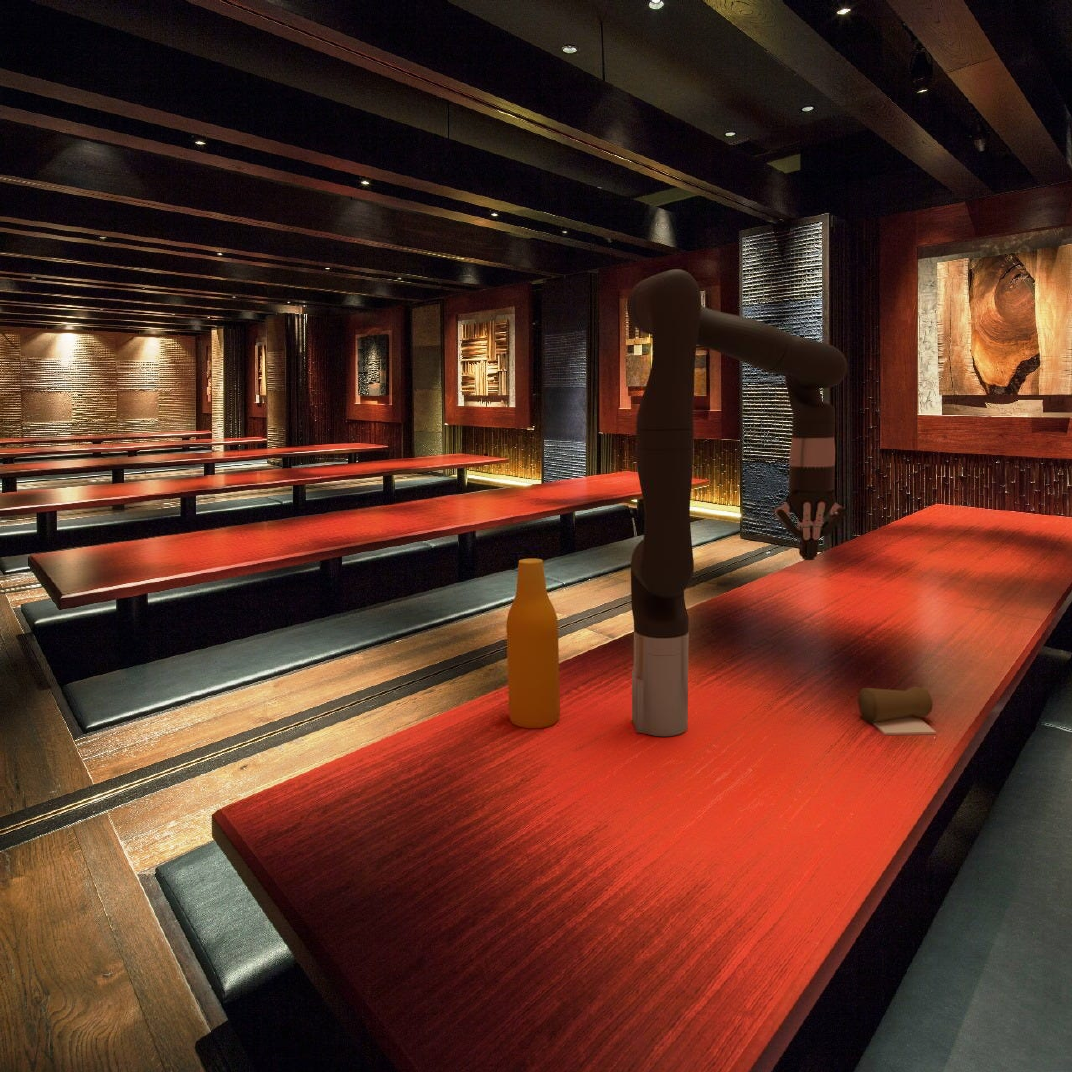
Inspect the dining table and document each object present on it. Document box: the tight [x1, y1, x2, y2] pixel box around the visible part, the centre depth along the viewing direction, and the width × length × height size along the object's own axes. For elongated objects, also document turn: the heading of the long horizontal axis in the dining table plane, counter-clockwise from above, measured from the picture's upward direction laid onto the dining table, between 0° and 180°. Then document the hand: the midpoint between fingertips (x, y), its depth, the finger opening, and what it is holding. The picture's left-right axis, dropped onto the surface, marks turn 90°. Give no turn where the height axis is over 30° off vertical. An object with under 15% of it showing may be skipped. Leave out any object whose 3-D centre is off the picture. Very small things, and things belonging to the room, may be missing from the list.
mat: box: [872, 715, 937, 736], centre depth 129 cm, size 8×10×1 cm
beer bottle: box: [505, 558, 561, 729], centre depth 132 cm, size 9×9×29 cm
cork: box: [857, 686, 933, 724], centre depth 130 cm, size 6×6×11 cm
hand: (808, 559), depth 135 cm, fingers closed
